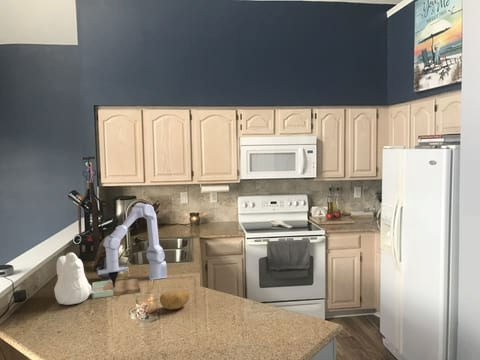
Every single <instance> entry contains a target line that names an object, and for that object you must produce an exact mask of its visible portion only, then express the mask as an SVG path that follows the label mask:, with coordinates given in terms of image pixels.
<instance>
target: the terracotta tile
mask: <svg viewBox="0 0 480 360" xmlns="http://www.w3.org/2000/svg"><path fill="white" fill-rule="evenodd" d="M112 287H113V283H112V282H111V281H109V282H108V283H107V284H106V285H105V286H104V287H103V290H104V291H107V290H110V289H111V288H112Z"/></svg>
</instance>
